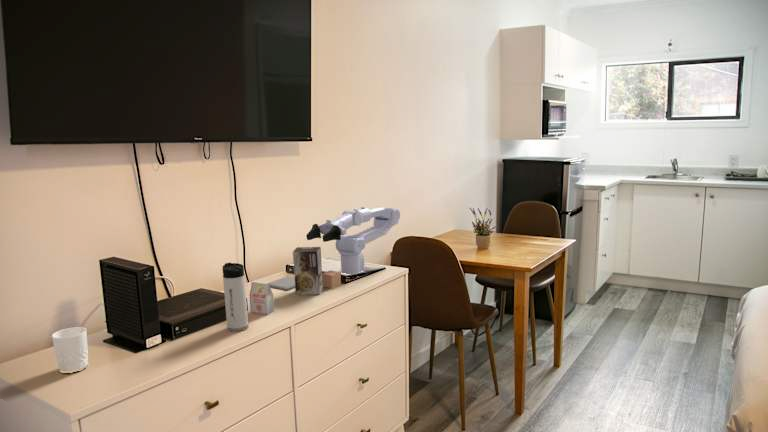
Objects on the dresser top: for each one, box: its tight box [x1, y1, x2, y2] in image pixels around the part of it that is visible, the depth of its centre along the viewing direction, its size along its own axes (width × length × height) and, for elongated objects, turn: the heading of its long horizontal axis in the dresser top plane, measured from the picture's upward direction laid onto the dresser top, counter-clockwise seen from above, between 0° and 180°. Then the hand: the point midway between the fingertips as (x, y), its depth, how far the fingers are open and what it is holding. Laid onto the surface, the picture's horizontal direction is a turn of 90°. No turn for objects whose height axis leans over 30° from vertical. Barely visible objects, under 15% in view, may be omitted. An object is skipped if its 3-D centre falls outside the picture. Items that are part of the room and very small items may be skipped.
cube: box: [322, 270, 342, 289], centre depth 215 cm, size 5×5×5 cm
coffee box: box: [292, 246, 324, 295], centre depth 207 cm, size 9×6×16 cm
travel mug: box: [222, 262, 249, 332], centre depth 174 cm, size 6×7×20 cm
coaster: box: [266, 276, 296, 292], centre depth 219 cm, size 12×12×1 cm
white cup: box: [51, 326, 89, 371], centre depth 149 cm, size 8×8×10 cm
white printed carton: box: [249, 281, 275, 316], centre depth 188 cm, size 4×7×10 cm, turn 65°
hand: (315, 238), depth 208 cm, fingers open, 7 cm apart
